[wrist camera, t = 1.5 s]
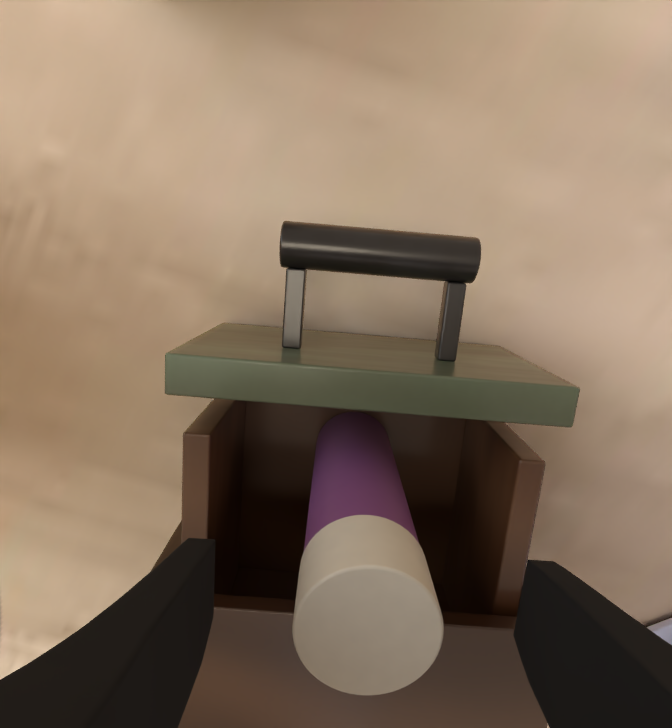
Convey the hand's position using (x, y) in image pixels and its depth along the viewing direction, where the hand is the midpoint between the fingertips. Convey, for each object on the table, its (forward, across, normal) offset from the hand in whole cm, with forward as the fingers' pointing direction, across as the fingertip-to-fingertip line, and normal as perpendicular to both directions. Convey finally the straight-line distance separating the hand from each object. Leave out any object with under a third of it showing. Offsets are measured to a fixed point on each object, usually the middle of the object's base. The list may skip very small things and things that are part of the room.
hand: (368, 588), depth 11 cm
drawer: (+10, 0, -1) cm, 10 cm away
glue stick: (+9, 0, 0) cm, 9 cm away
